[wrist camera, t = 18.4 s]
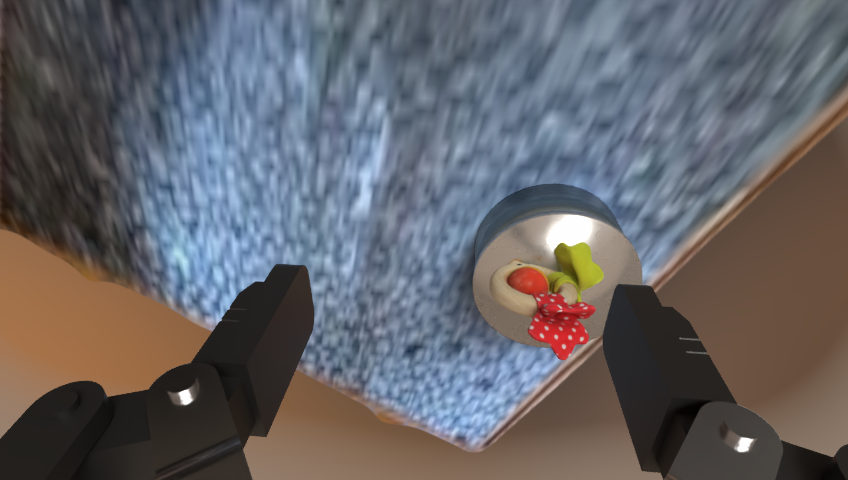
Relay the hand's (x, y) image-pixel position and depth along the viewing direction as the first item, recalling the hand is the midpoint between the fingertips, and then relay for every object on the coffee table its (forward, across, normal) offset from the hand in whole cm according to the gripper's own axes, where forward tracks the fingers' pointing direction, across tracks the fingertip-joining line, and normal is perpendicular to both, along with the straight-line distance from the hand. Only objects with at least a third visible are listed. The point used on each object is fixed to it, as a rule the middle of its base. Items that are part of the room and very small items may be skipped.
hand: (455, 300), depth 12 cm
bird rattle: (+27, -7, +16) cm, 32 cm away
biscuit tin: (+33, -9, +19) cm, 39 cm away
